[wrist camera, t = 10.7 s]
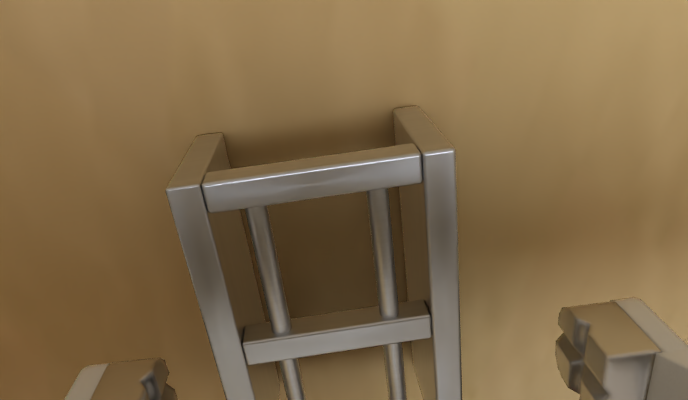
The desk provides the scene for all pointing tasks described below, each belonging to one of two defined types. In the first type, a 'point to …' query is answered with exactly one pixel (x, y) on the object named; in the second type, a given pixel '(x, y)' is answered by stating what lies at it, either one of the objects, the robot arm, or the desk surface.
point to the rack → (240, 282)
